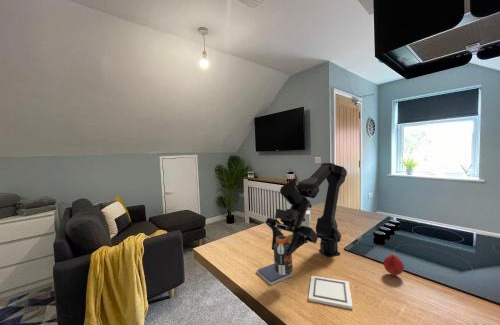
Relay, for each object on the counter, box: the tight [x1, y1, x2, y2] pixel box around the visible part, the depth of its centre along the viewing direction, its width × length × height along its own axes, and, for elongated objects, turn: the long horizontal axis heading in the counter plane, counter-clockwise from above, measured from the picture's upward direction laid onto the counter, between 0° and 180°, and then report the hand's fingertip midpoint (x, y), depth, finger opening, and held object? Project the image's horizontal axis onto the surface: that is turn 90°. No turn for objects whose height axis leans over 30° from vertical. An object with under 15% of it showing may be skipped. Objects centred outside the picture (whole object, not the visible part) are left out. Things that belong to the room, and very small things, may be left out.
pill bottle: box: [273, 235, 293, 275], centre depth 69 cm, size 6×6×11 cm
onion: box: [383, 253, 405, 277], centre depth 73 cm, size 6×6×8 cm
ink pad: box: [256, 263, 294, 286], centre depth 77 cm, size 10×10×1 cm
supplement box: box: [301, 209, 312, 228], centre depth 112 cm, size 7×7×13 cm
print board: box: [307, 275, 354, 310], centre depth 66 cm, size 12×12×1 cm
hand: (279, 252), depth 68 cm, fingers closed on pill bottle, 6 cm apart
